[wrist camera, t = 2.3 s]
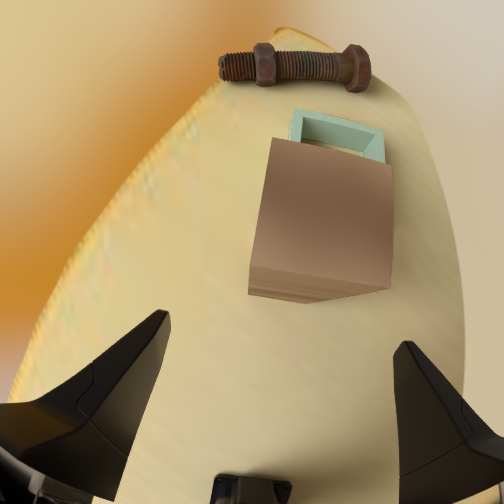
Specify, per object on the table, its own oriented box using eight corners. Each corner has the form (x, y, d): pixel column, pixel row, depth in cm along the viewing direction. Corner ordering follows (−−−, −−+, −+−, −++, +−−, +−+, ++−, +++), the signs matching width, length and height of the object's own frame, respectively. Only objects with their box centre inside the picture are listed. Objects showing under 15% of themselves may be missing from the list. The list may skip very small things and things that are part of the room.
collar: (371, 225, 22) (386, 213, 19) (278, 206, 22) (283, 191, 19) (370, 147, 24) (382, 130, 21) (289, 128, 24) (294, 108, 21)
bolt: (222, 87, 27) (351, 87, 27) (220, 99, 24) (368, 100, 24) (218, 40, 23) (354, 43, 23) (215, 44, 19) (373, 49, 19)
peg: (305, 303, 21) (389, 288, 8) (247, 294, 21) (249, 265, 8) (313, 247, 22) (391, 165, 9) (257, 237, 22) (272, 137, 9)
